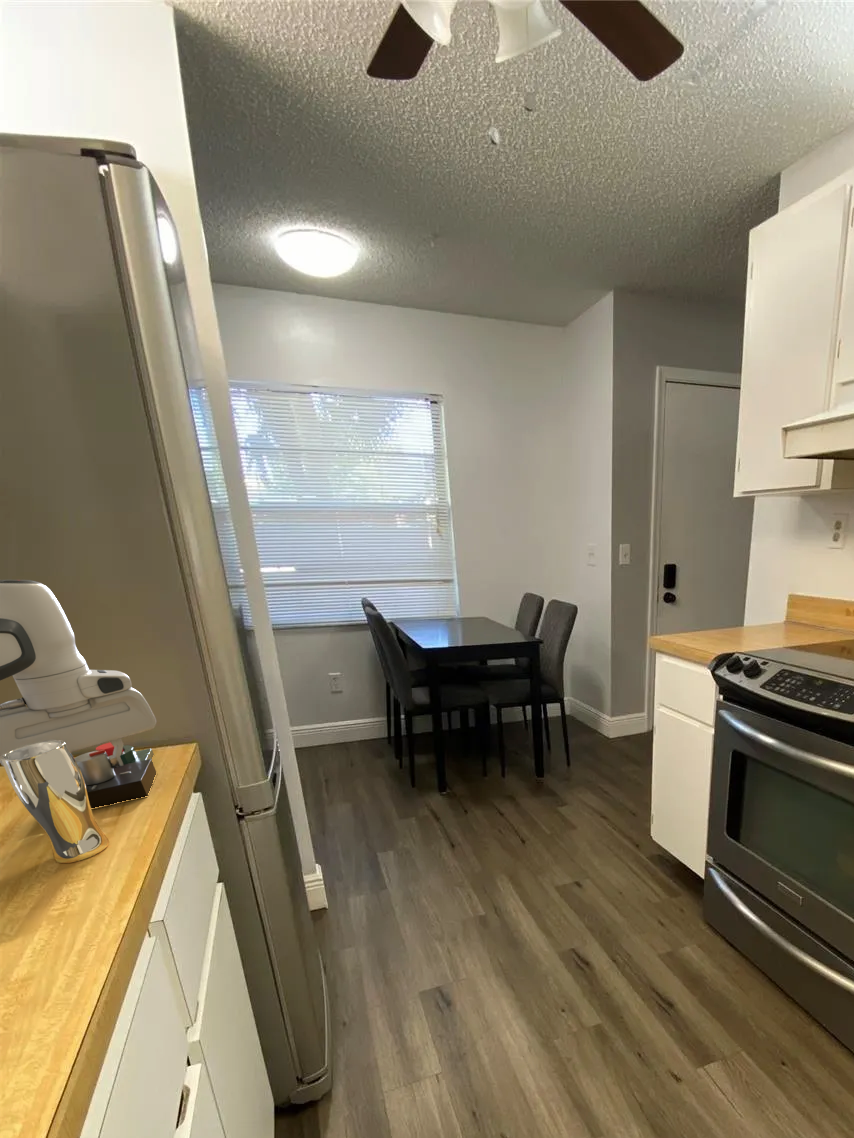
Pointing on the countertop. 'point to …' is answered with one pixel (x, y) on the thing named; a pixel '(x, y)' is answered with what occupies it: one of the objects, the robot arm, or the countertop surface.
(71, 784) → the beer glass
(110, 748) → the button
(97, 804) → the panel
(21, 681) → the robot arm
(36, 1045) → the countertop surface
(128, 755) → the switch block
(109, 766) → the knob
